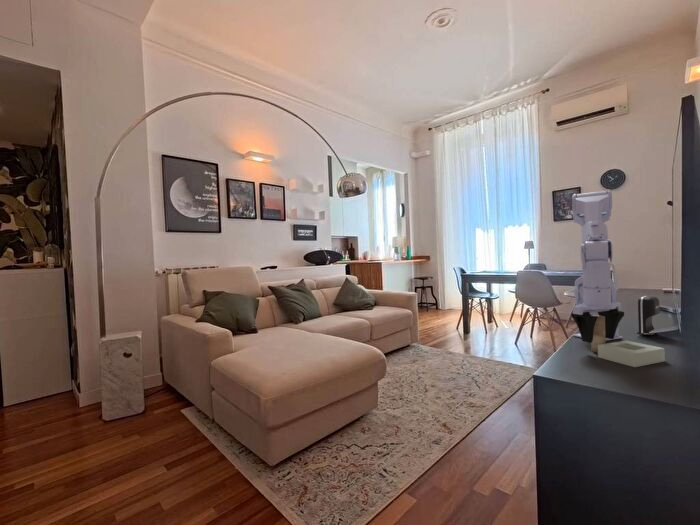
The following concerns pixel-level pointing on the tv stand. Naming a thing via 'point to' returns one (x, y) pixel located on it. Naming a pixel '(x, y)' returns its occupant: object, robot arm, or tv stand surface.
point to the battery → (647, 313)
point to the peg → (598, 333)
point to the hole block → (631, 353)
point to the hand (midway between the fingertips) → (598, 339)
